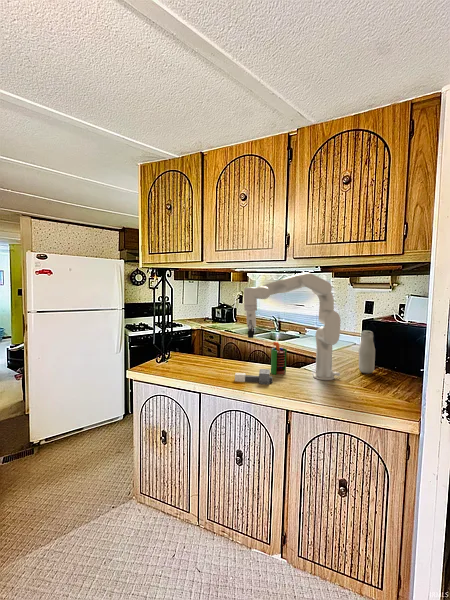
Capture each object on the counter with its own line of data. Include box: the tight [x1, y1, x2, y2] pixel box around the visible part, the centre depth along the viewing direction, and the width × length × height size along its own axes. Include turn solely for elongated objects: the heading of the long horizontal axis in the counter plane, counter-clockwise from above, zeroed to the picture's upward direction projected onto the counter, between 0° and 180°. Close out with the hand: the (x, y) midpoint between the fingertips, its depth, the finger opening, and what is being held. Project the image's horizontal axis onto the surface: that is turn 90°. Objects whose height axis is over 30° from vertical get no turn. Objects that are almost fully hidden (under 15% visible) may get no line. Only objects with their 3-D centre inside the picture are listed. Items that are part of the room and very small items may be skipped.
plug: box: [234, 372, 273, 384], centre depth 197 cm, size 22×4×4 cm, turn 82°
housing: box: [258, 368, 271, 386], centre depth 196 cm, size 6×10×6 cm, turn 172°
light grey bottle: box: [358, 330, 376, 375], centre depth 216 cm, size 10×10×28 cm
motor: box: [270, 341, 288, 376], centre depth 215 cm, size 10×9×20 cm
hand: (251, 336), depth 199 cm, fingers open, 9 cm apart
